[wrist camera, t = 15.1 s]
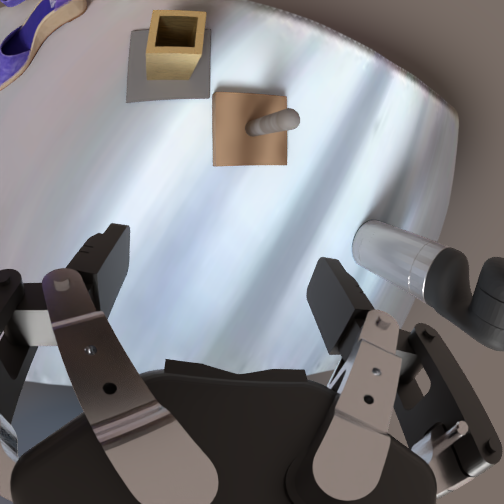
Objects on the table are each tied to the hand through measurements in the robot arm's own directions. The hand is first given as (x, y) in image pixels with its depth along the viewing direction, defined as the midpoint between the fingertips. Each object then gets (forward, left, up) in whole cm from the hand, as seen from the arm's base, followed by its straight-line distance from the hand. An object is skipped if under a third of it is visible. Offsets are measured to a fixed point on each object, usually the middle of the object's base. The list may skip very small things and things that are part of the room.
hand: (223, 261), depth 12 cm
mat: (+1, -18, -28) cm, 33 cm away
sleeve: (+1, -18, -27) cm, 33 cm away
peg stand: (-10, -8, -28) cm, 31 cm away
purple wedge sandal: (+21, -25, -28) cm, 43 cm away
